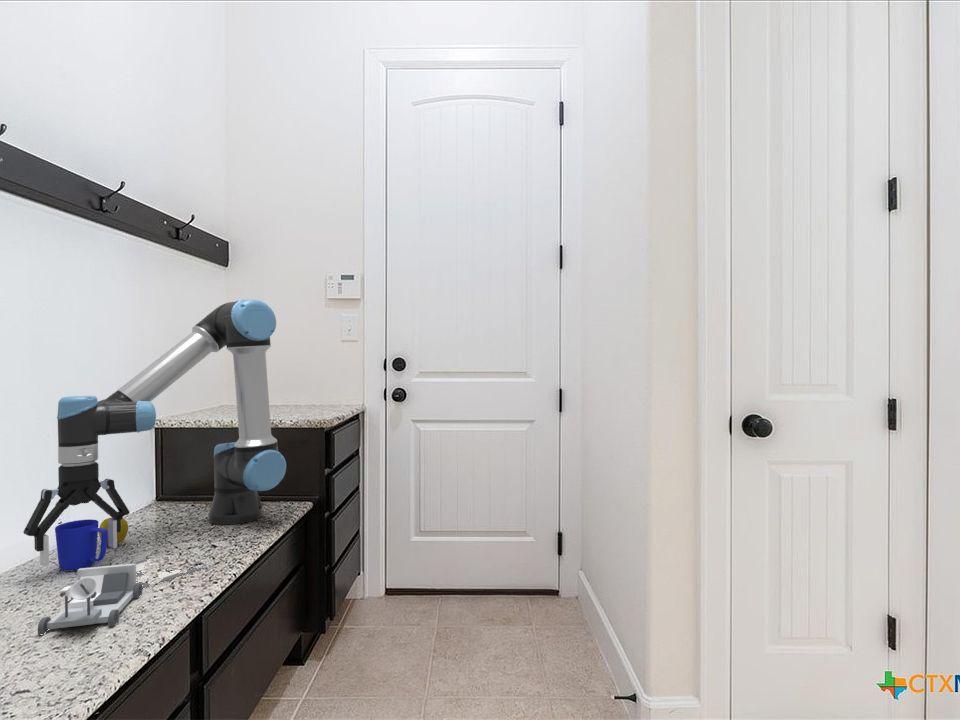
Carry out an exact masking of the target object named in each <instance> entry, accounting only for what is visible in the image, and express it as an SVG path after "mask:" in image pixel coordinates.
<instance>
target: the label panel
mask: <svg viewBox="0 0 960 720" xmlns="http://www.w3.org/2000/svg"><path fill="white" fill-rule="evenodd" d="M144 561H145V562H144ZM149 562H150V561H149ZM135 563H136V574H137V575H136V577H138V576H139V577H140V578H144V577H145V578H147V577H149V576H147V575H144V574H142V572H141V570H144V569H145V568H147V567H145V566H143V564H144V565H145V563H146V564H147V563H148V561H146V560H145V559H142V560H139V561H135V562H132V563H130V564H135ZM144 567H145V568H144ZM207 567H208V566H206V565H204V566H203V567H202V568H199V570H200V571H202V570H201V569H203V570H205V569H204V568H206V569H208V568H207ZM190 569H192V570H187V572H186V573H180V571H181V570H175V571H170V572H172V573H168V572H160V573H157V574H159V575H158V576H159V577H158V578H160V579H161V578H164V579H163V580H161V581H160V582H163V583H165V582H164V581H167V580H170V579H173V578H176V577H179V576H182V575H185V574H188V573H191V574H193V573H192V572H194V573H196V572H195V571H197V570H198V569H197V568H190ZM167 570H168V569H167ZM138 571H139V572H140V573H137V572H138ZM163 571H165V570H163ZM182 572H183V571H182ZM197 572H198V571H197ZM161 573H162V574H161ZM177 573H180V574H177ZM141 575H144V576H141ZM148 575H149V574H148ZM188 575H189V574H188ZM146 576H147V577H146ZM185 576H186V575H185ZM182 577H183V576H182ZM179 578H180V577H179ZM176 579H177V578H176ZM146 580H147V579H146ZM173 580H174V579H173ZM170 581H171V580H170ZM136 582H138V581H136ZM160 582H159V583H160ZM167 582H168V581H167ZM139 583H142V582H139ZM136 584H137V583H136ZM160 584H161V583H160ZM142 585H143V586H142V590H144V589H143V588H145V587H148V586H149V585H150V584H146V583H144V584H142ZM148 588H149V587H148ZM145 589H146V588H145Z"/></svg>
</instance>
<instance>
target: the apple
mask: <svg viewBox="0 0 960 720" xmlns="http://www.w3.org/2000/svg"><path fill="white" fill-rule="evenodd" d="M109 519H112V517H108V518H106V519H104V520H102V521H101V523H100V525H99V526H98V528H103V529H107V531H108V520H109ZM128 531H129V524H128V522H127V520H126V519H125V518H124V517H123V518H122V519H121V531H120V532H118V533H117V545H120V544H121V543H123V542H124V540H125V539H126V537H127V534H128ZM98 536H99V538H100V540H101V533H100V532H98ZM107 547H108V535H107Z"/></svg>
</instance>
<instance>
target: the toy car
mask: <svg viewBox="0 0 960 720" xmlns="http://www.w3.org/2000/svg"><path fill="white" fill-rule="evenodd" d="M76 575H77V581H76V582H74V583H73V585H68V586H64V587H63V588H61V590H60V591H59V597H61V598H62V597H64V608H62V609H61V610H60V611H58V613H56V614H55V615H54V616H53V617H52V618H51V617H50V616H43V617H42V618H41V619H40V620H39V622H38V624H37V625H38V626H37V634H38V635H39V634H44V633H45V632H46V631H47V630H48V629H50V630H52V629H60V628H61V629H63V628H64V629H65V628H70V627H79V626H87V625H89V626H90V625H94V624H95V625H96V624H104V623H105V624H106V623H107V625H108V628H114V627H116V625H117V624H118V623H119V620H120V612H122V610H123V609H124V608H125V607H126V606H127V604H128V603H129V602H130V601H132V599H134V600H136V599H139V598H140V597H141V596H142V595H143V589H142V584H141V583H137V584H136V563H135V564H131V563H127V564H126V563H125V564H115V565H104V566H93V567H91V566H90V567H87V568H80V569H78V570H76ZM69 595H70V602H69V597H68V596H69ZM140 595H141V596H140ZM139 596H140V597H139ZM68 602H69V603H68ZM117 622H118V623H117ZM116 623H117V624H116ZM115 624H116V625H115ZM113 626H114V627H113Z"/></svg>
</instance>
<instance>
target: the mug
mask: <svg viewBox="0 0 960 720" xmlns="http://www.w3.org/2000/svg"><path fill="white" fill-rule="evenodd" d="M54 531H55V533H54V534H55V541H56V542H55V543H56V549H57V550H56V551H57V559H58V567H59V568H60V569H61V571H64V572H75V571H76V572H77V570H78V569H80V568H91V566H92V565H94V564H95V563H98V562H101V561H103V559H104V558H105V556H106V551H107V547H108V546H107V535H108V531H107V529H103V528H99V520H97V519H88V518H87V519H80V520H79V519H78V520H73V521H67V522H63V523H60V524H58V525H56V526H55V527H54ZM99 532H100V533H101V539H100V549H99V550H100V551H99V555H98V558H97V547H98V536H99Z"/></svg>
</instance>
